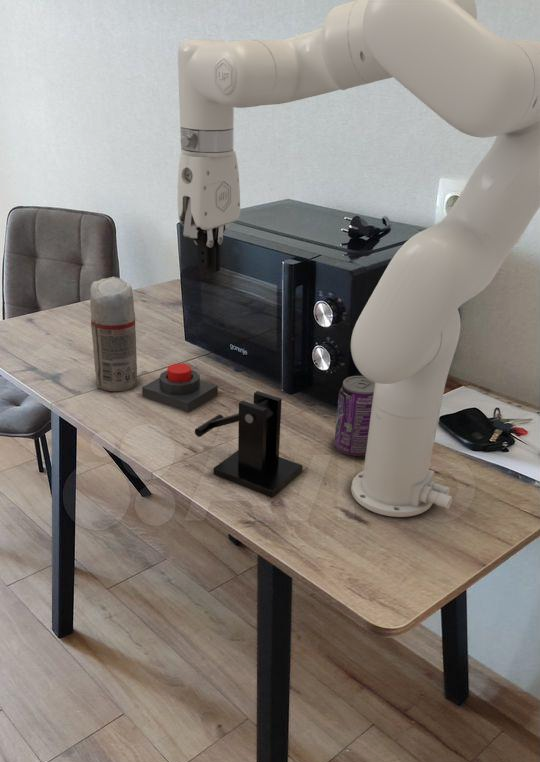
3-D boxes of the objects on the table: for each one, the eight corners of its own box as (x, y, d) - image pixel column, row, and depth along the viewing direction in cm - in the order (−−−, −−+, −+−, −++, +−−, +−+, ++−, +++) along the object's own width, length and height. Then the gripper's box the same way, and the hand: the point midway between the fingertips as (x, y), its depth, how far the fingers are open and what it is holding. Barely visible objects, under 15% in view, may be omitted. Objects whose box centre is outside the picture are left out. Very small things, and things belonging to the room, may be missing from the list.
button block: (217, 394, 134) (217, 375, 132) (188, 412, 128) (187, 392, 125) (172, 380, 139) (172, 361, 137) (142, 396, 132) (140, 377, 130)
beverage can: (344, 433, 123) (351, 370, 116) (382, 445, 120) (391, 381, 113) (326, 451, 118) (332, 386, 111) (365, 463, 115) (373, 397, 108)
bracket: (213, 474, 111) (212, 401, 104) (245, 450, 117) (246, 380, 110) (272, 497, 106) (275, 422, 99) (302, 471, 112) (307, 399, 105)
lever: (198, 440, 111) (191, 426, 111) (220, 425, 115) (214, 412, 115) (259, 424, 103) (252, 409, 102) (280, 409, 107) (274, 394, 106)
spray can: (144, 376, 140) (137, 276, 129) (134, 394, 133) (125, 290, 122) (103, 372, 140) (92, 273, 129) (90, 390, 134) (78, 287, 123)
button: (196, 377, 132) (195, 367, 131) (181, 385, 129) (181, 375, 128) (177, 371, 134) (177, 361, 133) (162, 379, 131) (162, 369, 129)
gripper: (195, 150, 93) (198, 287, 103) (258, 139, 104) (255, 264, 114) (152, 144, 96) (159, 277, 106) (217, 134, 107) (218, 255, 117)
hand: (209, 270), depth 110 cm, fingers closed
